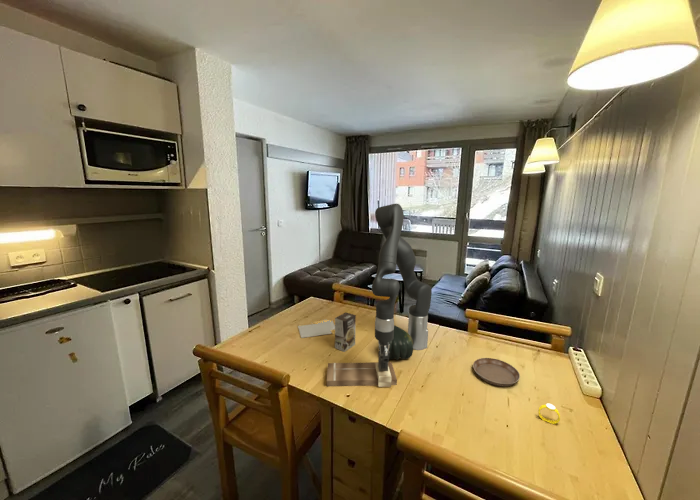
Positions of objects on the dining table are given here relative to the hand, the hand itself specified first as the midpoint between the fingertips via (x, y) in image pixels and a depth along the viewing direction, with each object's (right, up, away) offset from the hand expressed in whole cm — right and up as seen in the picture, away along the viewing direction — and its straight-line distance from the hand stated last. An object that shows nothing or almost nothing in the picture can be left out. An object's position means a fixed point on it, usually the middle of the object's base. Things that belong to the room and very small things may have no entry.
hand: (383, 365), depth 118 cm
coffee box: (-16, -1, +26) cm, 31 cm away
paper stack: (-31, +3, +48) cm, 57 cm away
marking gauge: (0, -6, 0) cm, 6 cm away
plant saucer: (+48, -6, +4) cm, 49 cm away
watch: (+54, -11, -20) cm, 58 cm away
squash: (+8, -3, +18) cm, 20 cm away
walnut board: (-9, -6, +3) cm, 11 cm away
